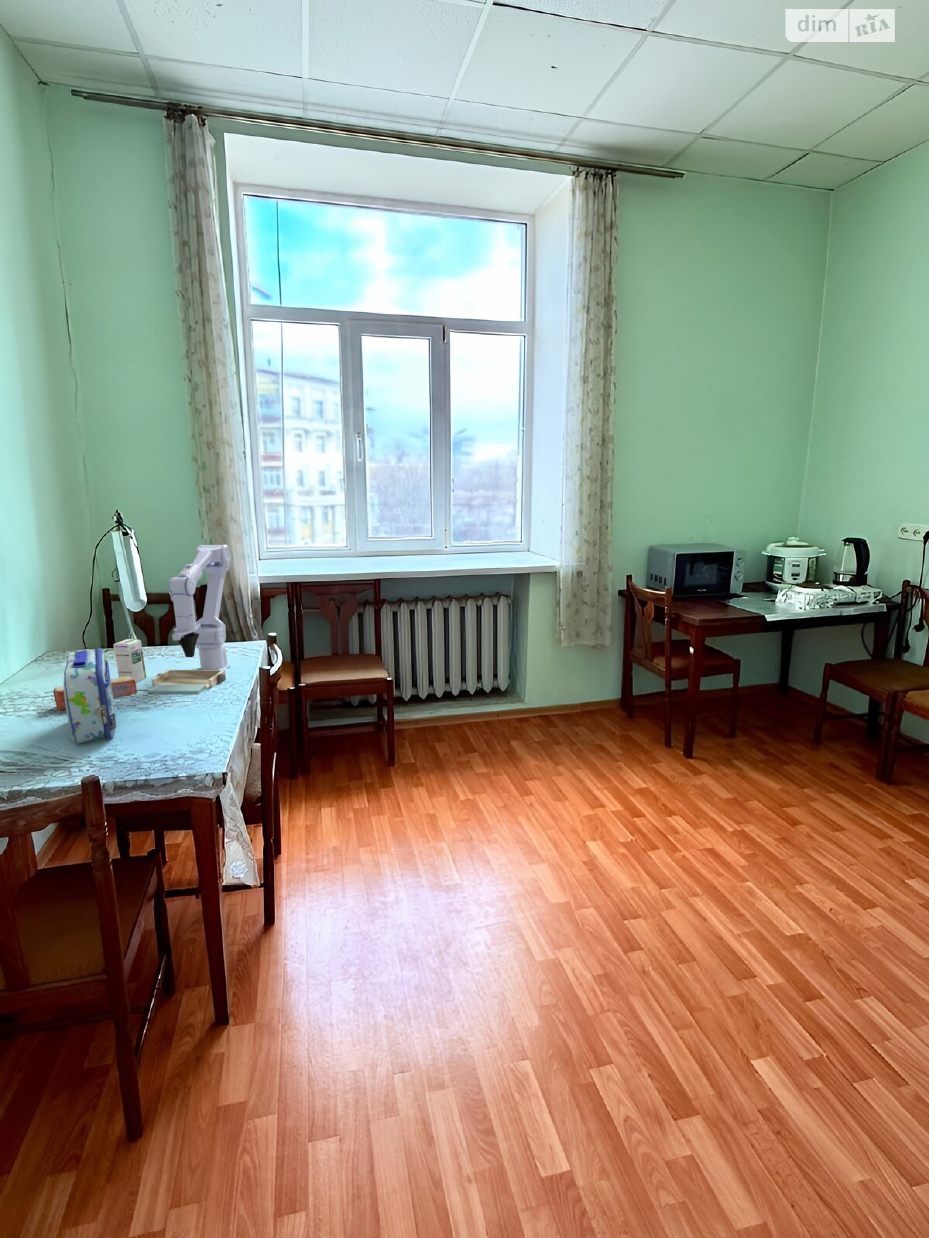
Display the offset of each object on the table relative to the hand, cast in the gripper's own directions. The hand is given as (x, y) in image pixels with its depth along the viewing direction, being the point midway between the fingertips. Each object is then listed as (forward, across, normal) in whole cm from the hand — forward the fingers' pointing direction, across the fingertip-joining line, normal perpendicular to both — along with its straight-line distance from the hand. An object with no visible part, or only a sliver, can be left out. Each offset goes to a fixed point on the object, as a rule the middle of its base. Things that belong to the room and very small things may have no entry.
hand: (190, 656), depth 205 cm
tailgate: (+8, +7, 0) cm, 11 cm away
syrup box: (+10, 0, -20) cm, 22 cm away
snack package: (+10, +16, -22) cm, 29 cm away
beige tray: (+9, +2, 0) cm, 10 cm away
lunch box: (+10, +37, -9) cm, 39 cm away
